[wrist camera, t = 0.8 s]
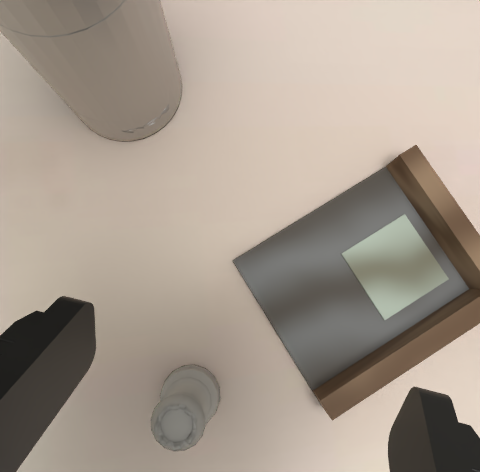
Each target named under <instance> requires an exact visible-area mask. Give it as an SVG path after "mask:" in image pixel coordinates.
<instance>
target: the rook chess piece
mask: <svg viewBox="0 0 480 472" xmlns="http://www.w3.org/2000/svg"><path fill="white" fill-rule="evenodd" d="M219 401H220V389H219V385H218V383H217V381H216V379H215V377H214V376H213V375H212V374H211V373H210V372H209V371H208V370H207V369H205V368H202V367H199V366H196V365H188V366H182V367H180V368H178V369H176V370H174V371H173V372H172V373H171V374H170V375H169V376H168V378H167V379H166V380H165V383H164V385H163V388H162V391H161V394H160V402H159V403H158V405H157V406H156V407H155V408H154V411H153V414H152V417H151V430H152V432H153V435H154V437H155V439H156V441H157V442H159V443H160V444H161V445H162V446H163V447H164V448H167V449H169V450H172V451H183V450H187V449H189V448H190V447H192V446H194V445H195V444H196V443H197V442H198V441H199V439H200V438H201V437H202V435H203V432H204V429H205V424H206V423H208V421H209V420H210V419H211V418H212V417H213V415H214V414H215V412H216V411H217V408H218V404H219Z"/></svg>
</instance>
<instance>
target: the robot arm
mask: <svg viewBox="0 0 480 472" xmlns="http://www.w3.org/2000/svg"><path fill="white" fill-rule="evenodd" d="M0 31H1V33H2V34H3V35H4V36H5V37H6V38H7V39H8V40H9V41H10V42H11V44H12V45H13V46H14V47H15V48H16V49H17V50H18V51H19V52H20V53H21V54H22V56H23V57H24V58H25V59H26V60H27V61H28V62H29V63H30V64H31V65H32V66H33V68H34V69H35V70H36V71H37V72H38V73H39V74H40V75H41V76H42V77H43V78H44V80H45V81H46V82H47V83H48V84H49V85H50V86H51V87H52V88H53V89H54V90H55V92H56V93H57V94H58V95H59V96H60V97H61V98H62V99H63V100H64V102H65V103H66V104H67V105H68V106H69V107H70V108H71V109H72V110H73V111H74V112H75V113H76V115H77V116H78V117H79V118H80V119H81V120H82V121H83V122H84V123H85V124H86V125H87V126H88V127H89V128H90V129H91V130H93V131H94V132H96V133H97V134H98V135H101V136H103V137H106V138H108V139H112V140H118V141H134V140H138V139H142V138H145V137H148V136H150V135H152V134H154V133H156V132H157V131H159V130H160V129H161V128H163V127H164V126H165V125H166V124H167V123H168V122H169V121H170V119H171V118H172V117H173V115H174V113H175V112H176V110H177V108H178V105H179V102H180V99H181V92H182V83H181V76H180V72H179V68H178V65H177V61H176V57H175V54H174V49H173V46H172V42H171V38H170V34H169V31H168V27H167V23H166V20H165V16H164V12H163V9H162V5H161V1H160V0H0ZM95 350H96V338H95V316H94V306H93V304H92V303H89V302H85V301H81V300H78V299H74V298H70V297H66V296H62V297H60V298H58V299H57V300H56V301H55V302H54V303H53V304H52V305H51V306H50V307H49V308H48V309H47V310H46V311H45V312H40V311H35V312H33V313H31V314H29V315H27V316H25V317H23V318H21V319H19V320H17V321H16V322H14V323H13V324H12V325H11V326H10V327H9V328H8V329H7V330H6V331H5V332H4V333H3V334H2V335H1V336H0V472H16V471H17V470H18V468H19V467H20V465H21V464H22V463H23V461H24V460H25V458H26V457H27V455H28V454H29V453H30V451H31V450H32V448H33V447H34V446H35V444H36V443H37V441H38V440H39V439H40V437H41V436H42V434H43V433H44V432H45V430H46V429H47V427H48V426H49V425H50V423H51V422H52V420H53V419H54V418H55V416H56V415H57V413H58V412H59V410H60V409H61V408H62V406H63V405H64V403H65V402H66V401H67V399H68V398H69V396H70V395H71V394H72V392H73V391H74V389H75V388H76V387H77V385H78V384H79V382H80V381H81V380H82V378H83V377H84V375H85V374H86V373H87V371H88V369H89V368H90V366H91V364H92V361H93V358H94V355H95ZM388 459H389V468H390V472H480V438H479V437H478V435H477V434H476V433H475V431H474V430H473V428H472V427H471V426H470V425H466V424H463V423H459V422H458V420H457V417H456V413H455V410H454V406H453V403H452V400H451V398H450V397H449V396H448V395H445V394H441V393H437V392H433V391H429V390H426V389H422V388H418V387H413V388H411V390H410V391H409V393H408V395H407V397H406V399H405V401H404V403H403V405H402V407H401V409H400V411H399V413H398V415H397V418H396V420H395V422H394V424H393V426H392V428H391V431H390V435H389V441H388Z"/></svg>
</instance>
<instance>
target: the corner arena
mask: <svg viewBox="0 0 480 472" xmlns="http://www.w3.org/2000/svg"><path fill="white" fill-rule="evenodd" d="M233 262H234V264H235V265H236V267H237V269H238V270H239V272H240V273H241V275H242V277H243V278H244V280H245V282H246V283H247V285H248V287H249V288H250V290H251V291H252V293H253V295H254V296H255V298H256V300H257V301H258V303H259V304H260V306H261V308H262V309H263V311H264V313H265V314H266V316H267V317H268V319H269V321H270V322H271V324H272V326H273V327H274V329H275V331H276V332H277V334H278V335H279V337H280V339H281V340H282V342H283V344H284V345H285V347H286V348H287V350H288V352H289V353H290V355H291V357H292V358H293V360H294V362H295V363H296V365H297V366H298V368H299V370H300V371H301V373H302V375H303V376H304V378H305V379H306V381H307V383H308V384H309V386H310V388H311V389H312V391H313V392H314V394H315V396H316V397H317V399H318V401H319V402H320V404H321V406H322V407H323V408H324V410H325V411H326V413H327V414H328V415H329V417H330V418H331V419H332V420H334V419H335V418H337V417H338V416H340V415H341V414H343V413H344V412H346V411H347V410H349V409H350V408H352V407H353V406H355V405H356V404H358V403H359V402H361V401H362V400H364V399H365V398H367V397H368V396H370V395H372V394H373V393H375V392H376V391H378V390H379V389H381V388H382V387H384V386H385V385H387V384H388V383H390V382H391V381H393V380H394V379H396V378H397V377H399V376H400V375H402V374H403V373H405V372H406V371H408V370H409V369H411V368H412V367H414V366H416V365H417V364H419V363H420V362H422V361H423V360H425V359H426V358H428V357H429V356H431V355H432V354H434V353H435V352H437V351H438V350H440V349H441V348H443V347H444V346H446V345H447V344H449V343H450V342H452V341H453V340H455V339H456V338H458V337H460V336H461V335H463V334H464V333H466V332H467V331H469V330H470V329H472V328H473V327H475V326H476V325H478V324H479V323H480V235H479V234H478V232H477V231H476V230H475V228H474V227H473V225H472V224H471V222H470V221H469V220H468V218H467V217H466V215H465V214H464V212H463V211H462V209H461V208H460V207H459V205H458V204H457V202H456V201H455V199H454V198H453V197H452V195H451V194H450V192H449V191H448V189H447V188H446V187H445V185H444V184H443V182H442V181H441V179H440V178H439V177H438V175H437V174H436V172H435V171H434V169H433V168H432V167H431V165H430V164H429V162H428V161H427V159H426V158H425V157H424V155H423V154H422V152H421V151H420V149H419V148H418V147H417V145H415V146H413V147H412V148H410V149H408V150H407V151H405V152H404V153H402V154H400V155H399V156H398V157H397V158H395V159H394V160H393V161H392V162H391V163H390V164H388V165H387V166H386V167H385V168H383V169H381V170H380V171H378V172H376V173H375V174H373V175H372V176H370V177H368V178H367V179H365V180H363V181H362V182H360V183H358V184H357V185H355V186H354V187H352V188H350V189H349V190H347V191H345V192H344V193H342V194H341V195H339V196H337V197H336V198H334V199H332V200H331V201H329V202H328V203H326V204H324V205H323V206H321V207H319V208H318V209H316V210H314V211H313V212H311V213H310V214H308V215H306V216H305V217H303V218H301V219H300V220H298V221H297V222H295V223H293V224H292V225H290V226H288V227H287V228H285V229H284V230H282V231H280V232H279V233H277V234H275V235H274V236H272V237H270V238H269V239H267V240H266V241H264V242H262V243H261V244H259V245H257V246H256V247H254V248H253V249H251V250H249V251H248V252H246V253H244V254H243V255H241V256H239V257H238V258H236V259H235V260H233Z"/></svg>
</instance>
